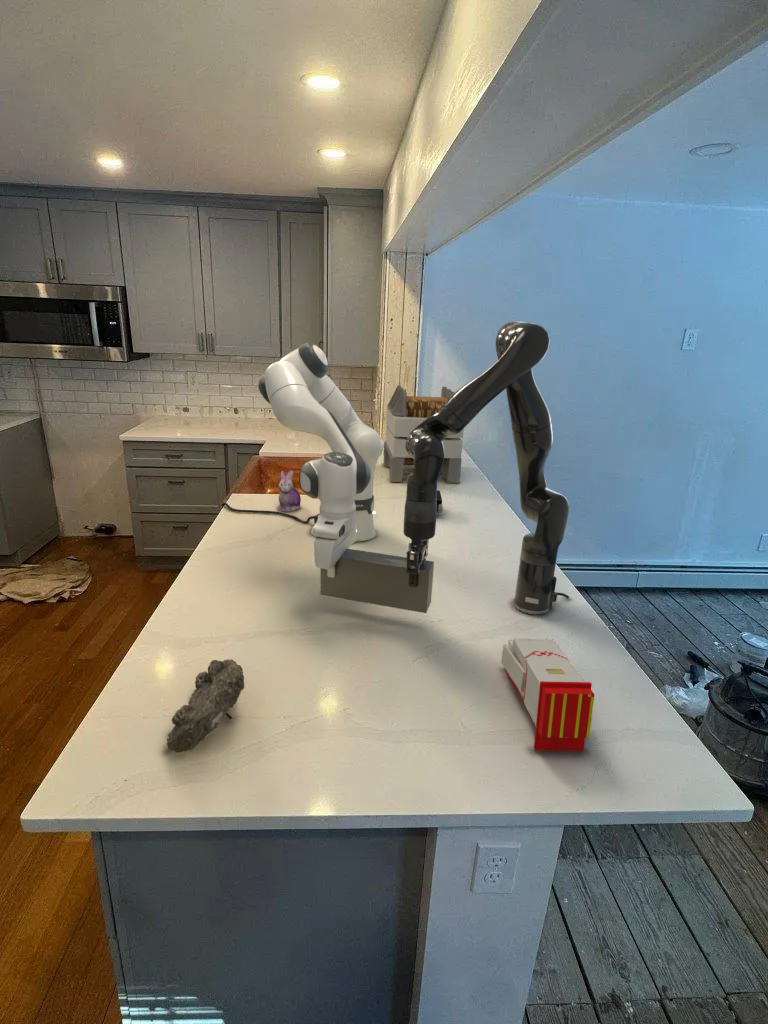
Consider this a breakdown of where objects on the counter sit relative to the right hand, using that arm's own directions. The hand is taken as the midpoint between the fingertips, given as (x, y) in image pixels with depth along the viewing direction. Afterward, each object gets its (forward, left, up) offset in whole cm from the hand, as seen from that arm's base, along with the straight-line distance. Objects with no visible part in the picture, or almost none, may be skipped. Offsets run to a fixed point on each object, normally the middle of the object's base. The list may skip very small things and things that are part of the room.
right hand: (416, 580), depth 138 cm
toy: (-13, +35, -13) cm, 39 cm away
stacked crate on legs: (-57, -129, -13) cm, 142 cm away
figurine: (+13, -93, -13) cm, 95 cm away
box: (+8, -6, -7) cm, 12 cm away
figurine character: (-40, -75, -13) cm, 86 cm away
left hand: (+17, -12, -1) cm, 21 cm away
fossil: (+50, +20, -13) cm, 55 cm away
